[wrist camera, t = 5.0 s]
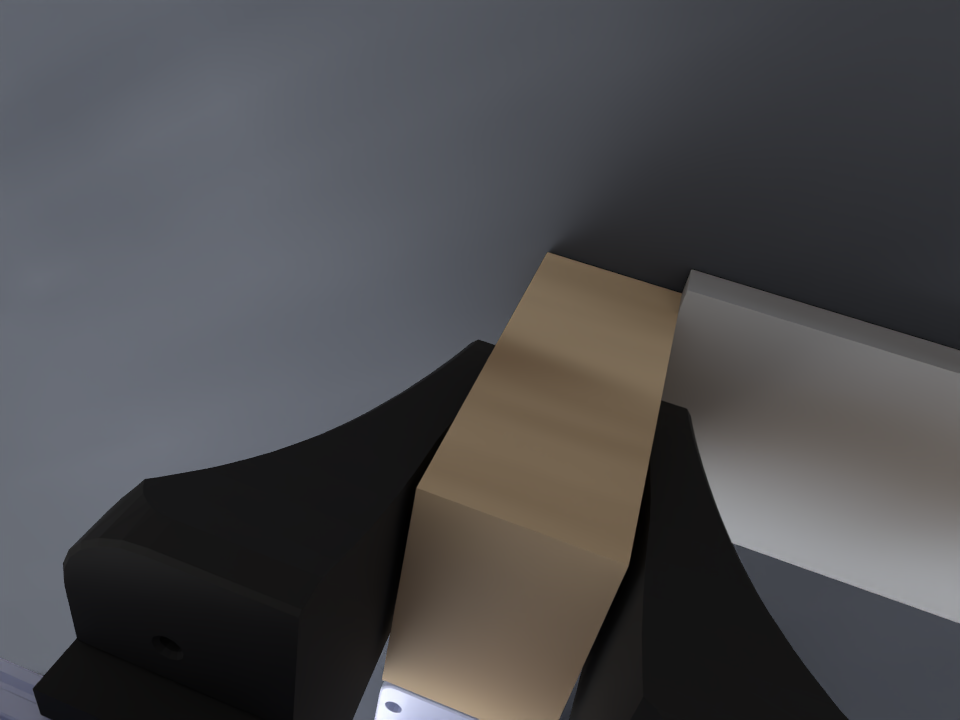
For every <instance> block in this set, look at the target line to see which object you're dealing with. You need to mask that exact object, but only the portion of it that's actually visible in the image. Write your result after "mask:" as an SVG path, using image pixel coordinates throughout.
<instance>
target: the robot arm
mask: <svg viewBox="0 0 960 720" xmlns="http://www.w3.org/2000/svg"><path fill="white" fill-rule="evenodd" d="M495 346H496V345H493V344H490V343H487V342H484V341H481V340H477V341H475V342H472V343H471V344H469V345H468V346H467V347H466V348H464V349H463V350H462V351H461V352H459V353H458V354H457V355H455V356H454V357H453V358H452V359H450V360H449V361H448V362H446V363H445V364H443V365H442V366H441V367H439V368H438V369H436V370H435V371H434V372H432V373H431V374H429V375H428V376H426V377H425V378H423V379H422V380H420V381H419V382H417V383H416V384H414V385H413V386H411V387H410V388H408V389H407V390H405V391H403V392H402V393H400V394H399V395H397V396H395V397H393V398H392V399H390V400H388V401H386V402H385V403H383V404H381V405H379V406H378V407H376V408H374V409H372V410H371V411H369V412H367V413H365V414H363V415H361V416H359V417H357V418H355V419H353V420H351V421H349V422H347V423H345V424H343V425H341V426H339V427H336V428H334V429H332V430H330V431H327V432H325V433H323V434H320V435H318V436H315V437H313V438H310V439H308V440H305V441H302V442H299V443H296V444H294V445H291V446H288V447H285V448H282V449H280V450H277V451H274V452H270V453H267V454H263V455H260V456H256V457H253V458H249V459H246V460H242V461H238V462H234V463H230V464H225V465H221V466H217V467H212V468H208V469H202V470H197V471H191V472H185V473H180V474H174V475H168V476H163V477H157V478H149V479H145V480H143V481H142V482H141V483H140V484H139V485H138V486H136V487H135V488H134V489H133V490H131V491H130V492H129V493H128V494H126V495H125V496H124V497H123V498H121V499H120V500H119V501H118V502H117V503H116V504H115V505H114V506H113V507H112V508H111V509H110V510H109V511H107V512H106V513H105V514H104V515H103V516H102V517H101V518H100V519H99V520H98V521H97V522H96V523H95V524H94V525H93V526H92V527H91V528H90V529H89V530H88V531H87V532H86V533H85V534H84V535H83V536H82V537H81V538H80V539H79V540H78V541H77V542H76V543H75V544H74V545H73V546H72V547H71V548H70V549H69V551H68V553H67V555H66V558H65V560H64V562H63V571H64V584H65V589H66V593H67V598H68V602H69V606H70V610H71V615H72V619H73V623H74V627H75V632H76V636H77V639H76V640H75V641H74V642H73V643H72V644H71V646H70V647H69V648H68V649H67V650H66V651H65V652H64V653H63V655H62V656H61V657H60V658H59V659H58V660H57V661H56V663H55V664H54V665H53V666H52V667H51V668H50V669H49V670H48V672H47V673H46V674H45V675H44V676H42V675H40V674H37V673H35V672H33V671H31V670H28V669H26V668H24V667H21V666H19V665H17V664H15V663H12V662H10V661H8V660H5V659H3V658H1V657H0V720H353V717H354V715H355V713H356V710H357V708H358V706H359V703H360V701H361V698H362V696H363V694H364V691H365V689H366V687H367V685H368V682H369V680H370V678H371V675H372V673H373V671H374V668H375V666H376V664H377V662H378V659H379V657H380V655H381V652H382V650H383V648H384V645H385V643H386V641H387V639H388V636H389V634H390V632H391V627H392V621H393V616H394V610H395V605H396V599H397V594H398V588H399V582H400V577H401V571H402V566H403V560H404V555H405V549H406V543H407V538H408V532H409V527H410V521H411V516H412V510H413V504H414V499H415V493H416V488H417V486H418V484H419V482H420V481H421V479H422V477H423V475H424V473H425V472H426V470H427V468H428V466H429V464H430V463H431V461H432V459H433V457H434V455H435V454H436V452H437V450H438V448H439V446H440V445H441V443H442V441H443V439H444V437H445V436H446V434H447V432H448V430H449V428H450V427H451V425H452V423H453V421H454V419H455V418H456V416H457V414H458V412H459V410H460V409H461V407H462V405H463V403H464V401H465V400H466V398H467V396H468V394H469V392H470V391H471V389H472V387H473V385H474V383H475V382H476V380H477V378H478V376H479V374H480V373H481V371H482V369H483V367H484V365H485V364H486V362H487V360H488V358H489V356H490V355H491V353H492V351H493V349H494V347H495ZM375 720H480V719H478V718H475V717H473V716H470V715H468V714H465V713H463V712H460V711H458V710H455V709H453V708H451V707H448V706H446V705H443V704H441V703H438V702H436V701H433V700H431V699H428V698H426V697H424V696H421V695H419V694H416V693H414V692H411V691H409V690H406V689H404V688H401V687H399V686H397V685H394V684H392V683H389V682H387V681H384V683H383V685H382V688H381V690H380V694H379V699H378V705H377V710H376V715H375ZM569 720H848V718H847V717H846V716H845V715H844V714H843V713H842V712H841V711H840V709H839V708H838V707H837V706H836V705H835V703H834V702H833V701H832V700H831V698H830V697H829V696H828V695H827V693H826V692H825V691H824V689H823V688H822V687H821V686H820V684H819V683H818V682H817V680H816V679H815V678H814V677H813V675H812V674H811V673H810V671H809V670H808V669H807V668H806V666H805V665H804V663H803V662H802V661H801V659H800V658H799V656H798V655H797V654H796V652H795V651H794V650H793V648H792V647H791V645H790V644H789V642H788V641H787V639H786V638H785V636H784V635H783V633H782V631H781V630H780V628H779V627H778V625H777V624H776V622H775V621H774V619H773V618H772V616H771V615H770V613H769V612H768V610H767V609H766V607H765V605H764V604H763V602H762V600H761V598H760V597H759V595H758V593H757V592H756V590H755V588H754V586H753V584H752V582H751V580H750V578H749V577H748V575H747V573H746V571H745V569H744V567H743V565H742V563H741V561H740V559H739V557H738V555H737V553H736V550H735V548H734V546H733V544H732V542H731V539H730V537H729V535H728V532H727V530H726V528H725V525H724V523H723V521H722V518H721V515H720V513H719V510H718V508H717V505H716V502H715V500H714V497H713V494H712V491H711V488H710V485H709V482H708V480H707V477H706V473H705V470H704V467H703V464H702V460H701V457H700V453H699V450H698V446H697V442H696V438H695V434H694V429H693V424H692V419H691V415H690V413H689V411H688V409H687V408H684V407H681V406H678V405H675V404H671V403H668V402H665V401H662V400H661V403H660V408H659V413H658V418H657V424H656V429H655V434H654V439H653V444H652V449H651V454H650V459H649V464H648V470H647V475H646V480H645V485H644V490H643V495H642V500H641V505H640V511H639V516H638V521H637V526H636V531H635V536H634V541H633V546H632V551H631V557H630V562H629V566H628V568H627V570H626V573H625V575H624V577H623V579H622V581H621V584H620V586H619V588H618V590H617V592H616V595H615V597H614V599H613V601H612V603H611V606H610V608H609V610H608V612H607V614H606V617H605V619H604V621H603V623H602V626H601V628H600V630H599V632H598V634H597V637H596V639H595V641H594V643H593V645H592V648H591V650H590V652H589V654H588V656H587V659H586V661H585V663H584V665H583V668H582V672H581V676H580V679H579V683H578V687H577V691H576V695H575V699H574V703H573V707H572V711H571V715H570V719H569Z"/></svg>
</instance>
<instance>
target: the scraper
mask: <svg viewBox="0 0 960 720" xmlns="http://www.w3.org/2000/svg"><path fill="white" fill-rule="evenodd" d="M661 400H662V401H665V402H668V403H671V404H675V405H678V406H681V407H684V408H687V409H688V411H689V413H690V415H691V419H692V424H693V429H694V434H695V438H696V442H697V446H698V450H699V453H700V457H701V460H702V464H703V467H704V470H705V473H706V477H707V480H708V482H709V485H710V488H711V491H712V494H713V497H714V500H715V502H716V505H717V508H718V510H719V513H720V515H721V518H722V521H723V523H724V525H725V528H726V530H727V532H728V535H729V537H730V539H731V542H732V543H734V544H737V545H740V546H742V547H745V548H748V549H751V550H754V551H757V552H759V553H762V554H765V555H768V556H771V557H774V558H776V559H779V560H782V561H785V562H788V563H790V564H793V565H796V566H799V567H802V568H805V569H807V570H810V571H813V572H816V573H819V574H822V575H824V576H827V577H830V578H833V579H836V580H839V581H841V582H844V583H847V584H850V585H853V586H856V587H858V588H861V589H864V590H867V591H870V592H873V593H875V594H878V595H881V596H884V597H887V598H890V599H892V600H895V601H898V602H901V603H904V604H907V605H909V606H912V607H915V608H918V609H921V610H923V611H926V612H929V613H932V614H935V615H938V616H940V617H943V618H946V619H949V620H952V621H955V622H957V623H960V350H957V349H953V348H950V347H947V346H943V345H940V344H937V343H933V342H930V341H927V340H924V339H920V338H917V337H914V336H910V335H907V334H904V333H900V332H897V331H894V330H891V329H887V328H884V327H881V326H877V325H874V324H871V323H867V322H864V321H861V320H858V319H854V318H851V317H848V316H844V315H841V314H838V313H834V312H831V311H828V310H824V309H821V308H818V307H815V306H811V305H808V304H805V303H801V302H798V301H795V300H791V299H788V298H785V297H782V296H778V295H775V294H772V293H768V292H765V291H762V290H758V289H755V288H752V287H749V286H745V285H742V284H739V283H735V282H732V281H729V280H725V279H722V278H719V277H715V276H712V275H709V274H706V273H702V272H699V271H696V270H692V269H691V271H690V274H689V277H688V279H687V282H686V284H685V287H684V289H683V292H682V293H679V292H675V291H672V290H669V289H666V288H662V287H659V286H656V285H653V284H649V283H646V282H643V281H640V280H636V279H633V278H630V277H627V276H623V275H620V274H617V273H614V272H610V271H607V270H604V269H601V268H597V267H594V266H591V265H588V264H584V263H581V262H578V261H575V260H571V259H568V258H565V257H562V256H558V255H555V254H552V253H549V252H547V254H546V256H545V257H544V259H543V261H542V263H541V265H540V266H539V268H538V270H537V272H536V274H535V275H534V277H533V279H532V281H531V283H530V284H529V286H528V288H527V290H526V292H525V293H524V295H523V297H522V299H521V301H520V302H519V304H518V306H517V308H516V310H515V311H514V313H513V315H512V317H511V319H510V320H509V322H508V324H507V326H506V328H505V329H504V331H503V333H502V335H501V337H500V338H499V340H498V342H497V344H496V346H495V347H494V349H493V351H492V353H491V355H490V356H489V358H488V360H487V362H486V364H485V365H484V367H483V369H482V371H481V373H480V374H479V376H478V378H477V380H476V382H475V383H474V385H473V387H472V389H471V391H470V392H469V394H468V396H467V398H466V400H465V401H464V403H463V405H462V407H461V409H460V410H459V412H458V414H457V416H456V418H455V419H454V421H453V423H452V425H451V427H450V428H449V430H448V432H447V434H446V436H445V437H444V439H443V441H442V443H441V445H440V446H439V448H438V450H437V452H436V454H435V455H434V457H433V459H432V461H431V463H430V464H429V466H428V468H427V470H426V472H425V473H424V475H423V477H422V479H421V481H420V482H419V484H418V486H417V488H416V493H415V499H414V504H413V510H412V516H411V521H410V527H409V532H408V538H407V543H406V549H405V555H404V560H403V566H402V571H401V577H400V582H399V588H398V594H397V599H396V605H395V610H394V616H393V621H392V627H391V633H390V638H389V644H388V649H387V655H386V660H385V666H384V672H383V677H382V680H384V681H387V682H389V683H392V684H394V685H397V686H399V687H401V688H404V689H406V690H409V691H411V692H414V693H416V694H419V695H421V696H424V697H426V698H428V699H431V700H433V701H436V702H438V703H441V704H443V705H446V706H448V707H451V708H453V709H455V710H458V711H460V712H463V713H465V714H468V715H470V716H473V717H475V718H478V719H480V720H559V718H560V716H561V714H562V711H563V709H564V707H565V705H566V703H567V700H568V698H569V696H570V694H571V692H572V689H573V687H574V685H575V683H576V681H577V678H578V676H579V674H580V672H581V670H582V667H583V665H584V663H585V661H586V659H587V656H588V654H589V652H590V650H591V648H592V645H593V643H594V641H595V639H596V637H597V634H598V632H599V630H600V628H601V626H602V623H603V621H604V619H605V617H606V614H607V612H608V610H609V608H610V606H611V603H612V601H613V599H614V597H615V595H616V592H617V590H618V588H619V586H620V584H621V581H622V579H623V577H624V575H625V573H626V570H627V568H628V566H629V562H630V557H631V551H632V546H633V541H634V536H635V531H636V526H637V521H638V516H639V511H640V505H641V500H642V495H643V490H644V485H645V480H646V475H647V470H648V464H649V459H650V454H651V449H652V444H653V439H654V434H655V429H656V424H657V418H658V413H659V408H660V403H661Z"/></svg>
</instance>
